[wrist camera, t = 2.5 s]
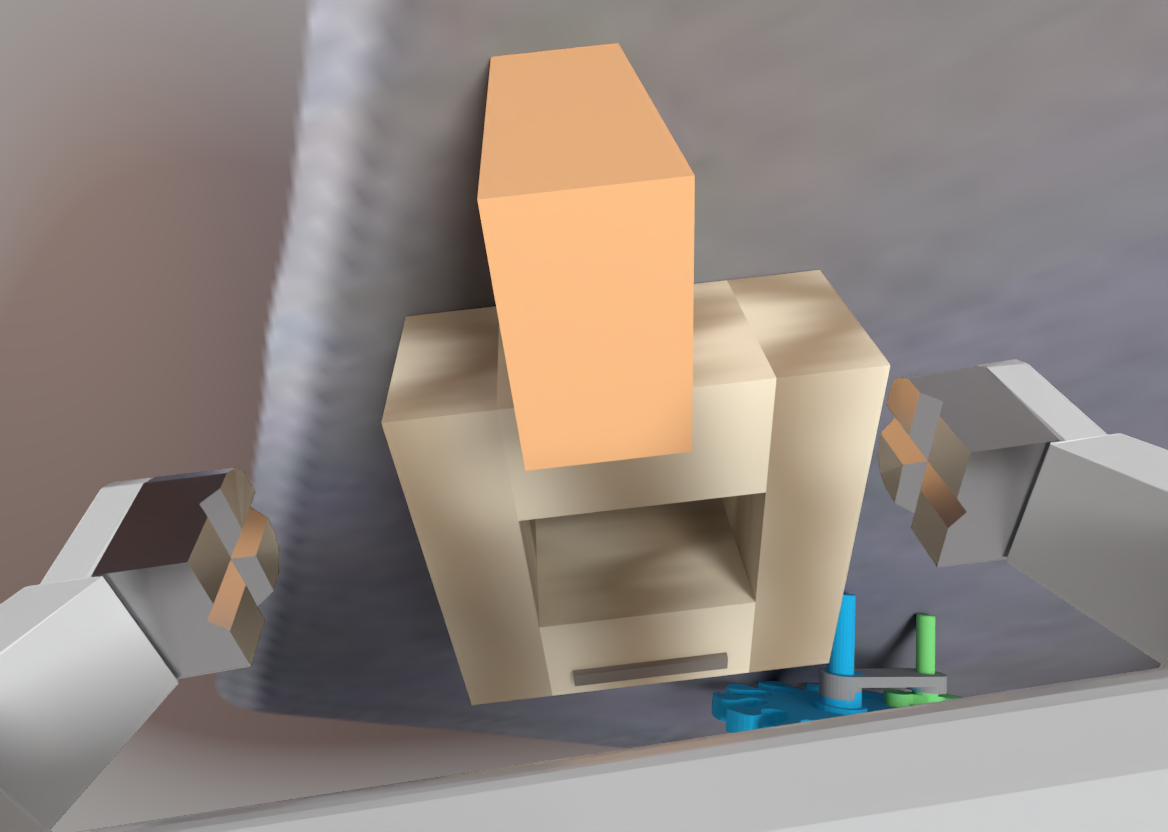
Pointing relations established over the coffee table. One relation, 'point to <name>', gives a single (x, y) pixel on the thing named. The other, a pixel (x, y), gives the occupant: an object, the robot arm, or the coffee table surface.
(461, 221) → the coffee table surface
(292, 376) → the coffee table surface
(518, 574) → the block
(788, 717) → the gear
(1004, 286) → the coffee table surface
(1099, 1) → the coffee table surface
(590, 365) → the key peg
